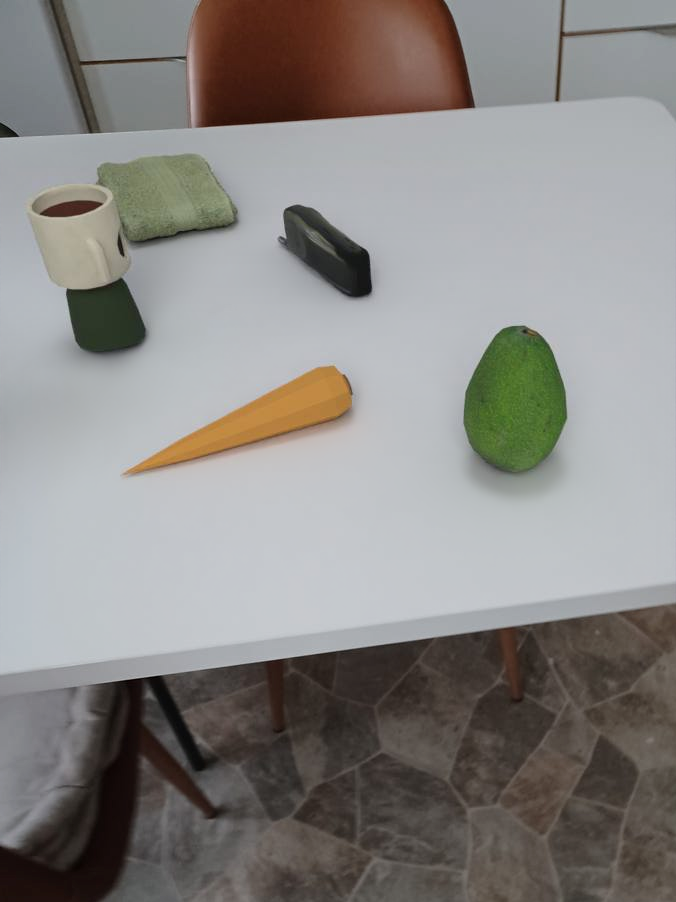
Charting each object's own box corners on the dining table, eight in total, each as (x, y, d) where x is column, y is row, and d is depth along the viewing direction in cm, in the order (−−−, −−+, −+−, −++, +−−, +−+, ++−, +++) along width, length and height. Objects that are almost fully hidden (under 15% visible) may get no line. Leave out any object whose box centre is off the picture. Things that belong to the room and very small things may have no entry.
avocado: (534, 504, 74) (542, 368, 65) (446, 472, 77) (443, 337, 68) (578, 449, 79) (591, 315, 70) (494, 421, 81) (497, 288, 72)
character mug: (171, 356, 88) (133, 214, 78) (94, 380, 85) (46, 236, 75) (129, 305, 94) (89, 167, 84) (56, 325, 91) (7, 186, 81)
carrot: (348, 406, 84) (331, 355, 82) (365, 414, 80) (347, 362, 78) (128, 494, 79) (103, 443, 77) (135, 508, 75) (109, 455, 73)
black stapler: (375, 247, 92) (290, 190, 99) (348, 256, 91) (265, 198, 98) (378, 295, 96) (296, 236, 103) (353, 304, 94) (272, 245, 102)
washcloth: (204, 166, 115) (198, 138, 113) (245, 228, 105) (239, 198, 102) (93, 186, 112) (85, 157, 109) (123, 252, 101) (115, 221, 99)
